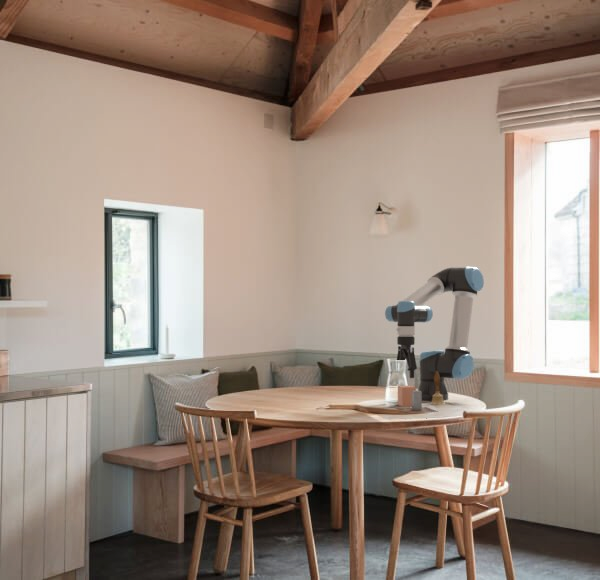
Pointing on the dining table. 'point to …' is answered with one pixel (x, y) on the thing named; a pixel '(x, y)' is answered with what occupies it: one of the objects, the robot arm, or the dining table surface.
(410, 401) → the pink upright block
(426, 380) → the robot arm
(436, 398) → the hand bell
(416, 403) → the post
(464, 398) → the dining table surface
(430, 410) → the board
